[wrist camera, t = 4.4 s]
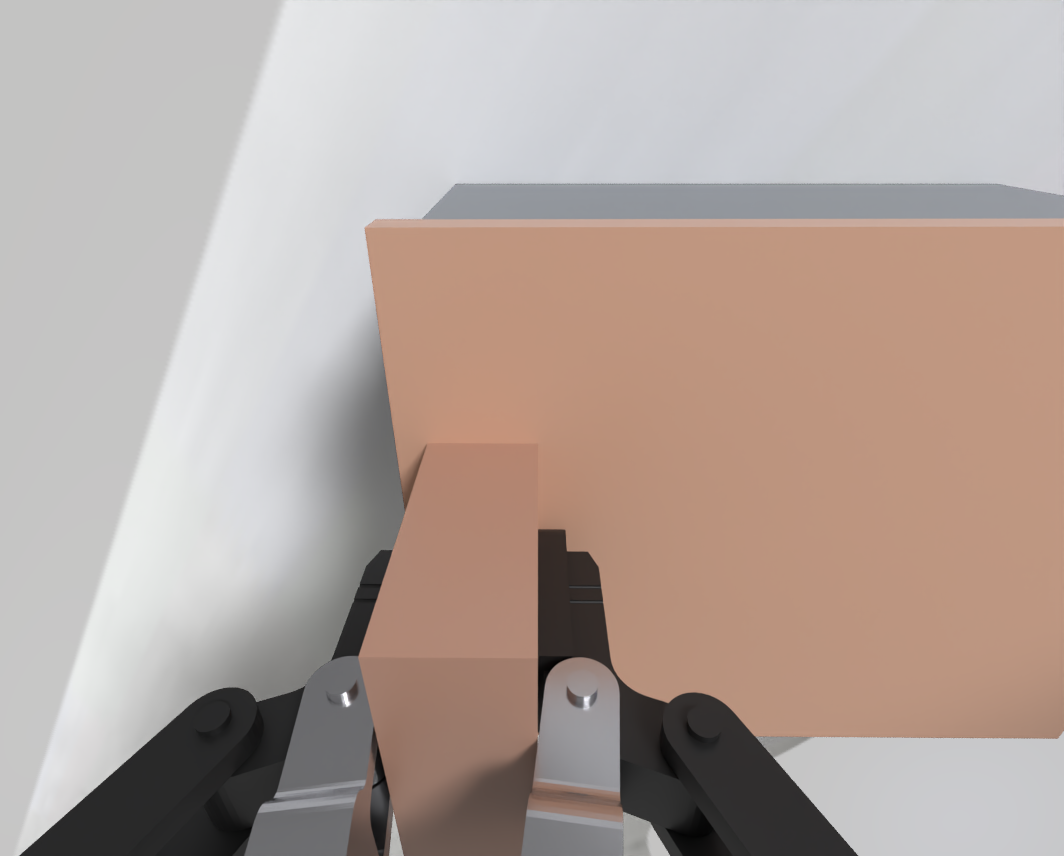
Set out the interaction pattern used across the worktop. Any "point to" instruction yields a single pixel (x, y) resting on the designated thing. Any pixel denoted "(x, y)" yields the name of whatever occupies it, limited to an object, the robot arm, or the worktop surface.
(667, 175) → the worktop surface
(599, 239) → the lid
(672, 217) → the tub
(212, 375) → the worktop surface
